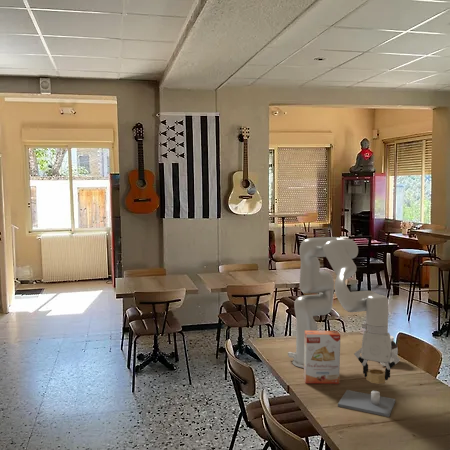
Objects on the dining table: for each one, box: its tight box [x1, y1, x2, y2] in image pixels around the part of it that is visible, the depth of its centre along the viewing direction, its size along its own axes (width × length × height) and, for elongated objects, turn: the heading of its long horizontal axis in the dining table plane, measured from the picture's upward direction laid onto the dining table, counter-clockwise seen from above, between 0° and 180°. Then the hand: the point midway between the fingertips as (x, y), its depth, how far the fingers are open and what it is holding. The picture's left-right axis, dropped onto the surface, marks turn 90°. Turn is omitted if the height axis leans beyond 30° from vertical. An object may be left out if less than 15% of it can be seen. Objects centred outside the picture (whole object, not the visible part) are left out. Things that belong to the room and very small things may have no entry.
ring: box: [365, 368, 387, 385], centre depth 173 cm, size 7×7×3 cm
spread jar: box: [379, 334, 399, 367], centre depth 219 cm, size 12×11×12 cm
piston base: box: [337, 389, 396, 418], centre depth 175 cm, size 18×14×5 cm
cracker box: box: [303, 330, 341, 385], centre depth 196 cm, size 14×6×21 cm, turn 90°
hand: (376, 377), depth 173 cm, fingers closed on ring, 6 cm apart
